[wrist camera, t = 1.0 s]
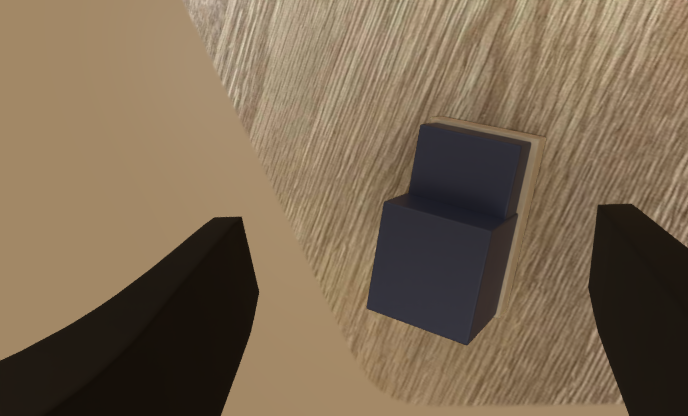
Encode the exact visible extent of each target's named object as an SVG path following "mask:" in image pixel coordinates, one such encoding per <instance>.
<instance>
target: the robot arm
mask: <svg viewBox="0 0 688 416" xmlns="http://www.w3.org/2000/svg"><path fill="white" fill-rule="evenodd" d="M588 288H589V293H590V298H591V303H592V307H593V312H594V316H595V321H596V325H597V329H598V333H599V336H600V338H601V341H602V344H603V347H604V349H605V352H606V355H607V358H608V360H609V363H610V366H611V368H612V371H613V374H614V376H615V379H616V382H617V384H618V387H619V390H620V392H621V395H622V398H623V400H624V403H625V406H626V408H627V411H628V413H629V416H688V248H687V247H686V246H684V245H683V244H682V243H681V242H679V241H678V240H677V239H675V238H674V237H673V236H672V235H670V234H669V233H668V232H667V231H665V230H664V229H663V228H662V227H660V226H659V225H658V224H657V223H655V222H654V221H653V220H652V219H650V218H649V217H648V216H647V215H645V214H644V213H643V212H642V211H640V210H639V209H638V208H636V207H635V206H634V205H632V204H608V205H598V209H597V217H596V226H595V234H594V243H593V251H592V260H591V268H590V277H589V286H588ZM258 295H259V289H258V285H257V281H256V276H255V272H254V268H253V264H252V259H251V255H250V251H249V246H248V242H247V238H246V234H245V230H244V226H243V221H242V217H215V218H213V219H212V220H210V221H209V222H207V223H206V224H205V225H203V226H202V227H201V228H200V229H198V230H197V231H196V232H195V233H194V234H192V235H191V236H190V237H189V238H188V239H186V240H185V241H184V242H183V243H182V244H180V245H179V246H178V247H177V248H176V249H174V250H173V251H172V252H171V253H170V254H169V255H167V256H166V257H165V258H163V259H162V260H161V261H160V262H159V263H157V264H156V265H155V266H154V267H152V268H151V269H150V270H149V271H147V272H146V273H145V274H143V275H142V276H141V277H139V278H138V279H137V280H135V281H134V282H133V283H131V284H130V285H129V286H127V287H126V288H125V289H124V290H122V291H121V292H119V293H118V294H117V295H115V296H114V297H112V298H111V299H110V300H108V301H107V302H105V303H104V304H102V305H101V306H99V307H98V308H96V309H95V310H93V311H92V312H90V313H88V314H87V315H85V316H83V317H82V318H80V319H78V320H77V321H75V322H74V323H72V324H70V325H69V326H67V327H65V328H63V329H61V330H60V331H58V332H56V333H54V334H52V335H50V336H49V337H46V338H45V339H43V340H41V341H39V342H37V343H35V344H33V345H31V346H30V347H28V348H26V349H24V350H22V351H20V352H18V353H16V354H14V355H12V356H9V357H7V358H5V359H3V360H1V361H0V416H221V413H222V411H223V408H224V405H225V402H226V400H227V397H228V394H229V392H230V389H231V386H232V383H233V381H234V378H235V375H236V372H237V370H238V367H239V364H240V362H241V359H242V356H243V353H244V350H245V348H246V345H247V342H248V339H249V336H250V333H251V329H252V325H253V320H254V316H255V311H256V306H257V300H258Z"/></svg>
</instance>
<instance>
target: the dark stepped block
mask: <svg viewBox="0 0 688 416" xmlns="http://www.w3.org/2000/svg"><path fill="white" fill-rule="evenodd" d="M545 142H546V137H542V136H537V135H532V134H527V133H522V132H517V131H512V130H507V129H503V128H498V127H493V126H488V125H483V124H478V123H473V122H468V121H463V120H458V119H453V118H448V117H443V116H438V117H431V118H430V123H428V124H422V125H420V130H419V136H418V141H417V147H416V153H415V158H414V164H413V170H412V176H411V181H410V187H409V193H406V194H404V195H401V196H398V197H395V198H393V199H390V200H387V201H385V202H384V205H383V211H382V217H381V223H380V229H379V235H378V241H377V247H376V253H375V259H374V265H373V271H372V277H371V283H370V289H369V295H368V301H367V309H369V310H372V311H375V312H377V313H380V314H383V315H386V316H388V317H391V318H394V319H396V320H399V321H402V322H404V323H407V324H410V325H413V326H415V327H418V328H421V329H423V330H426V331H429V332H432V333H434V334H437V335H440V336H442V337H445V338H448V339H451V340H453V341H456V342H459V343H461V344H464V345H468V344H469V343H470V342H471V341H472V340H473V339H474V338H475V337H476V336H477V334H478V333H479V332H480V331H481V330H482V329H483V328H484V327H485V326H486V325H487V324H488V322H489V321H490V320H491V319H492V318H496V319H499V318H500V317H501V316H502V315H503V314H504V313H505V312H506V310H507V307H508V302H509V298H510V294H511V289H512V285H513V281H514V276H515V272H516V268H517V263H518V259H519V255H520V250H521V246H522V242H523V237H524V233H525V229H526V224H527V220H528V216H529V211H530V207H531V203H532V198H533V194H534V190H535V185H536V181H537V177H538V172H539V168H540V164H541V159H542V155H543V151H544V146H545Z"/></svg>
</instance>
